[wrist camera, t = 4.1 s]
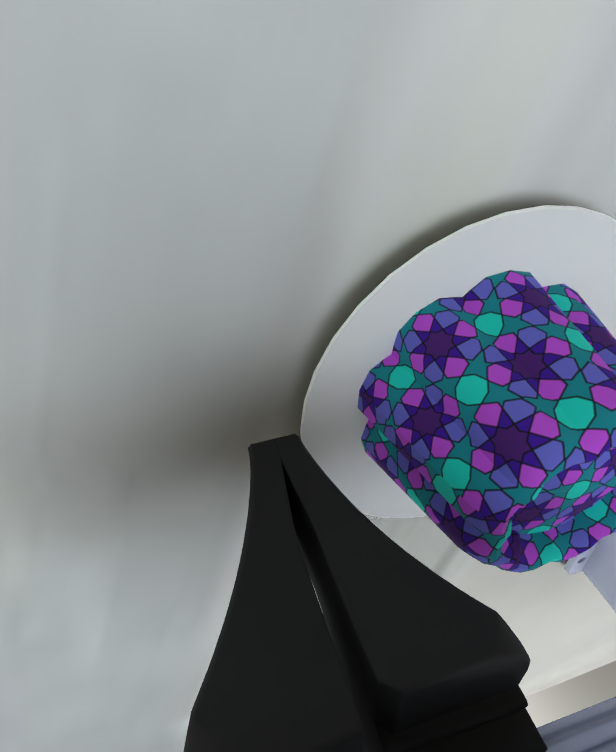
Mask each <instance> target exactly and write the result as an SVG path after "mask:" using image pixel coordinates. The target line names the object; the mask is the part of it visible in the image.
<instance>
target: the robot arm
mask: <svg viewBox="0 0 616 752" xmlns="http://www.w3.org/2000/svg"><path fill="white" fill-rule="evenodd" d="M248 451H249V456H250V469H251V479H250V497H249V509H248V517H247V524H246V531H245V537H244V543H243V549H242V554H241V559H240V563H239V568H238V572H237V577H236V581H235V585H234V588H233V592H232V596H231V600H230V603H229V607H228V610H227V614H226V617H225V620H224V624H223V627H222V630H221V633H220V636H219V639H218V642H217V645H216V648H215V651H214V654H213V657H212V659H211V662H210V665H209V668H208V670H207V673H206V675H205V678H204V681H203V683H202V686H201V688H200V691H199V693H198V696H197V698H196V701H195V703H194V706H193V709H192V711H191V716H190V721H189V726H188V731H187V736H186V741H185V747H184V752H616V697H613V698H611V699H609V700H606V701H603V702H601V703H598V704H596V705H593V706H591V707H589V708H586V709H583V710H581V711H578V712H576V713H573V714H571V715H569V716H566V717H563V718H561V719H558V720H556V721H553V722H551V723H548V724H546V725H543V726H541V727H538V728H536V726H535V725H534V723H533V721H532V719H531V717H530V715H529V714H528V712H527V710H526V708H525V707H527V706H528V703H527V700H526V698H525V696H524V695H523V693H522V691H521V689H520V687H519V686H518V684H519V683H520V681H521V680H522V678H523V676H524V675H525V673H526V672H527V670H528V667H529V664H530V658H529V656H528V654H527V652H526V650H525V649H524V647H523V645H522V644H521V642H520V641H519V639H518V638H517V636H516V635H515V634H514V633H513V631H512V630H511V629H510V627H509V626H508V625H507V623H506V622H505V621H504V620H503V619H502V617H501V616H500V615H499V614H498V613H497V612H496V611H494V610H493V609H491V608H489V607H488V606H486V605H484V604H483V603H481V602H479V601H477V600H476V599H474V598H473V597H471V596H469V595H468V594H466V593H464V592H463V591H461V590H460V589H458V588H457V587H455V586H454V585H452V584H451V583H449V582H448V581H446V580H445V579H443V578H442V577H440V576H439V575H437V574H436V573H434V572H433V571H432V570H430V569H429V568H428V567H426V566H425V565H423V564H422V563H421V562H419V561H418V560H417V559H415V558H414V557H413V556H411V555H410V554H409V553H407V552H406V551H405V550H403V549H402V548H401V547H400V546H398V545H397V544H396V543H395V542H394V541H392V540H391V539H390V538H389V537H388V536H386V535H385V534H384V533H383V532H382V531H381V530H380V529H378V528H377V527H376V526H375V525H374V524H373V523H372V522H371V521H370V520H369V519H368V518H367V517H365V516H364V515H363V514H362V513H361V512H360V511H359V510H358V509H357V508H356V507H355V506H354V505H353V504H352V503H351V502H350V501H349V500H348V498H347V497H346V496H345V495H344V494H343V493H342V492H341V491H340V490H339V489H338V487H337V486H336V485H335V484H334V483H333V482H332V481H331V480H330V478H329V477H328V476H327V475H326V474H325V472H324V471H323V470H322V469H321V468H320V466H319V465H318V464H317V462H316V461H315V460H314V458H313V457H312V456H311V454H310V453H309V452H308V450H307V449H306V447H305V446H304V444H303V443H302V441H301V439H300V438H299V436H297V435H296V434H292V435H288V436H284V437H280V438H276V439H271V440H267V441H263V442H259V443H255V444H251V445H250V446H249V448H248ZM564 568H565V570H566V571H567V572H568V574H575V573H578V572H581V571H583V572H584V573H585V575H586V576H587V577H588V578H589V580H590V581H591V582H592V583H593V585H594V586H595V587H596V588H597V590H598V591H599V592H600V593H601V595H602V596H603V597H604V598H605V600H606V601H607V602H608V603H609V605H610V606H611V607H612V608H613V610H614V611H615V612H616V532H615V533H613V534H610V535H608V536H605V537H603V538H601V539H600V540H599V541H598V542H597V543H596V544H595V545H593V546H592V547H591V548H590V549H588V550H587V551H585V552H583V553H581V554H579V555H577V556H576V557H573V558H570V559H568V561H567V563H566V564H565V567H564ZM311 580H312V581H311ZM312 583H313V584H312ZM313 586H314V587H313ZM314 588H315V590H314ZM315 591H316V593H315ZM316 594H317V596H316ZM317 597H318V599H317ZM318 600H319V602H318ZM319 603H320V605H319ZM320 606H321V607H320ZM321 609H322V610H321ZM322 612H323V613H322Z"/></svg>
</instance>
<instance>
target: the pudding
mask: <svg viewBox="0 0 616 752" xmlns="http://www.w3.org/2000/svg"><path fill="white" fill-rule="evenodd" d="M300 434H301V441H302V443H303V444H304V446H305V447H306V449H307V450H308V452H309V453H310V454H311V456H312V457H313V458H314V460H315V461H316V462H317V464H318V465H319V466H320V468H321V469H322V470H323V471H324V472H325V474H326V475H327V476H328V477H329V478H330V480H331V481H332V482H333V483H334V484H335V485H336V486H337V487H338V489H339V490H340V491H341V492H342V493H343V494H344V495H345V496H346V497H347V498H348V500H349V501H350V502H351V503H352V504H353V505H354V506H355V507H356V508H357V509H358V510H359V511H360V512H361V513H362V514H366V515H370V516H374V517H382V518H395V519H401V518H418V517H425V516H428V517H429V518H430V519H431V520H432V521H433V522H434V523H435V524H436V525H437V526H438V527H439V528H440V529H441V530H442V531H443V532H444V533H445V534H446V535H447V536H448V537H449V538H450V539H451V540H452V541H453V542H454V543H455V544H456V545H457V546H458V547H459V548H460V549H462V550H463V551H464V552H466V553H467V554H469V555H470V556H472V557H473V558H475V559H477V560H479V561H480V562H482V563H484V564H488V565H494V566H497V567H498V568H500V569H502V570H506V571H513V572H525V571H530V570H534V569H536V568H538V567H540V566H542V565H544V564H546V563H548V562H562V561H565V560H568V559H570V558H573V557H576V556H577V555H579V554H581V553H583V552H585V551H587V550H588V549H590V548H591V547H592V546H593V545H595V544H596V543H597V542H598V541H599V540H600V539H601V538H603V537H605V536H608V535H610V534H613V533H615V532H616V220H615V219H613V218H612V217H610V216H609V215H607V214H603V213H600V212H596V211H593V210H590V209H586V208H583V207H579V206H553V205H543V206H537V207H531V208H525V209H520V210H514V211H508V212H504V213H502V214H499V215H496V216H493V217H490V218H487V219H485V220H482V221H479V222H476V223H473V224H471V225H468V226H465V227H463V228H462V229H460V230H458V231H456V232H454V233H452V234H450V235H449V236H447V237H445V238H443V239H441V240H439V241H437V242H436V243H434V244H432V245H430V246H428V247H426V248H425V249H424V250H422V251H421V252H419V253H418V254H417V255H415V256H414V257H413V258H411V259H410V260H409V261H407V262H406V263H405V264H403V265H402V266H400V267H399V268H398V269H396V270H395V271H394V272H392V273H391V274H390V275H389V276H387V277H386V278H385V279H384V280H383V281H382V282H381V283H380V284H379V285H378V286H377V287H376V288H375V289H374V290H373V291H372V292H371V293H370V294H369V295H368V296H367V297H366V298H365V299H364V300H363V301H362V302H361V303H360V304H359V305H358V306H357V307H356V308H355V310H354V311H353V312H352V313H351V315H350V316H349V317H348V319H347V320H346V321H345V323H344V324H343V325H342V326H341V328H340V329H339V330H338V332H337V333H336V334H335V335H334V337H333V338H332V340H331V342H330V343H329V345H328V347H327V349H326V351H325V353H324V354H323V356H322V358H321V360H320V362H319V363H318V365H317V367H316V369H315V371H314V373H313V376H312V379H311V382H310V385H309V388H308V391H307V394H306V397H305V400H304V404H303V411H302V419H301V426H300Z"/></svg>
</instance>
